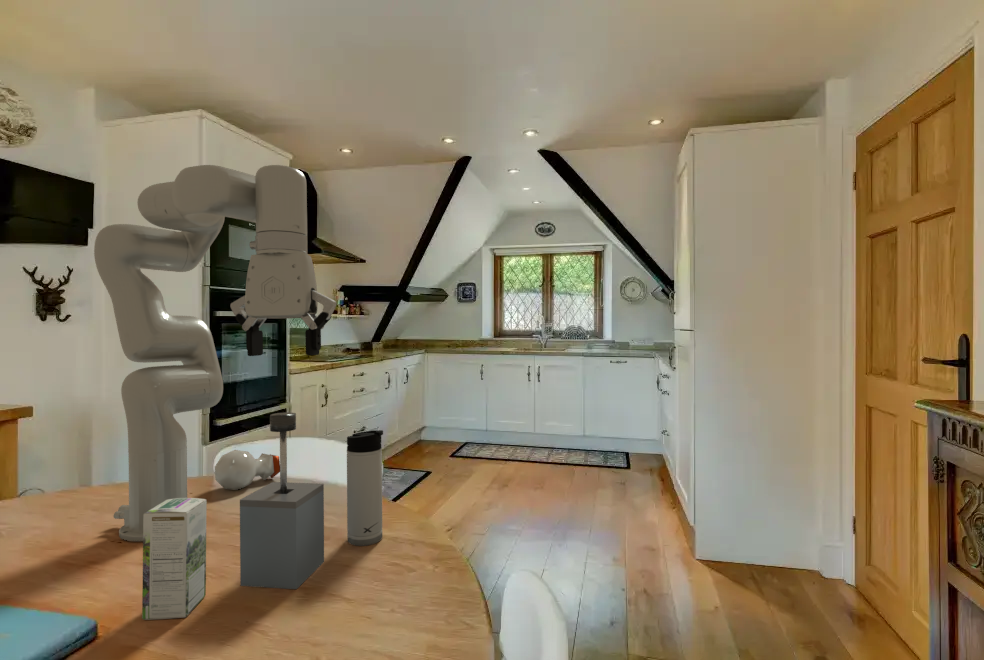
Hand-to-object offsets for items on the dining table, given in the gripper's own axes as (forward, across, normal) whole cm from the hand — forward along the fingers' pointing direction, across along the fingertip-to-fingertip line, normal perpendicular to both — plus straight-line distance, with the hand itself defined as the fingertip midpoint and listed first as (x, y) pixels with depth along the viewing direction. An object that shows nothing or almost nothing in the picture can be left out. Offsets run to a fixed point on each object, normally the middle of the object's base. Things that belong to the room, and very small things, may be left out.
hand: (283, 355), depth 81 cm
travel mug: (+35, +7, +14) cm, 38 cm away
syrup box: (+35, -10, -11) cm, 38 cm away
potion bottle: (+34, -35, +42) cm, 65 cm away
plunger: (+24, -1, 0) cm, 24 cm away
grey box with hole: (+35, -1, 0) cm, 35 cm away
